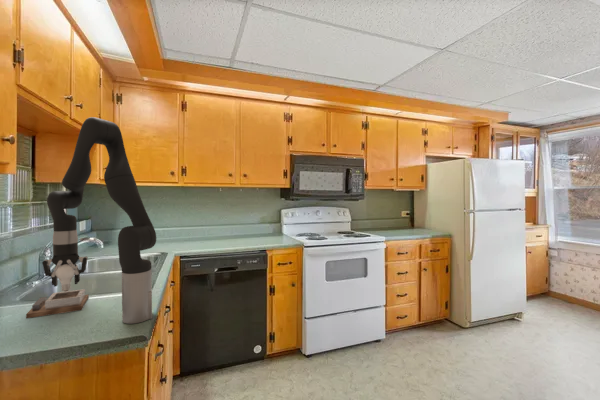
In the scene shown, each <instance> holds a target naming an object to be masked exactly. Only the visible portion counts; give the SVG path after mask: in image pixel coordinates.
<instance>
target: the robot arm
mask: <svg viewBox="0 0 600 400" xmlns="http://www.w3.org/2000/svg"><path fill="white" fill-rule="evenodd" d="M95 144H97V145H102V146H104V147H105V149H106V151H107V154H108V158H109V159H108V164H107V166H106V168H105V171H104V176H103V179H104V183H105V187H106V189H107V192H108V195H109V196H110V198H111V199H112V200H113V201H114V203H115V204H116V205H117V206H118V207H120V208H121V209H122V210H123V211H124V212H125V213H126V215H127V216H128V217H129V219H130V221H131V224H132V225H128V226H125V227H123V228H121V229H120V230H119V233H118V235H117V249H118V259H119V260H118V261H119V265H120V268H121V309H122V310H121V311H122V312H121V317H122V318H121V319H122V320H121V321H122V323H124V324H127V325H129V324H132V325H133V324H139V323H142V322H143V323H144V322H146V321H148V320H152V319H153V291H152V290H153V289H152V288H153V287H152V285H153V284H152V261H151V260H149V259H144V258H142V256H141V251H144V250H145V251H146V250H149V249H152V248H154V246H155V245H156V243H157V233H156V229H155V227H154V225H153V223H152V220H151V218H150V215H148V213H147V210H146V208H145V205H144V204H143V200H142V197H141V195H140V193H139V189H138V185H137V183H136V180H135V177H134V175H133V171H132V170H131V166H130V162H129V160H128V156H127V152H126V148H125V144H124V138H123V134H122V132H121V129H120V127H119V126H118V124H117V123H115V122H113V121H110V120H106V119H103V118H99V117H94V116H90V117H87V118H86V119H85V120H84V121H83V123H82V125H81V127H80V130H79V133H78V137H77V140H76V144H75V148H74V153H73V155H72V158H71V159H72V160H71V161H70V164H69V166H68V168H67V170H66V172H65V174H64V176H63V178H62V181H61V185H62V186H63V187H64V188H65V189H66V190H53V191H51V192H49V194H48V195H47V198H46V204H47V207H48V210H49V212H50V215H51V218H52V222H53V233H52V234H53V235H52V258H51V259H44V260H43V261H42V268H43V271H44V275H45V277H51V285H52V286H53V287H57V286H58V285H59V282H58V280H59V279H58V278H57V276H56V274H55V272H56V271H57V269H58V268H59V267H60V266H61V265H64V264H68V265H69V266H70V267H72V269H73V270H74V271H75V272H74V273H75V275H74V276H73V278H74V285H78V283H80V280H81V276H80V275H81V274H82V273H84V272H85V271H86V269H87V265H88V264H87V263H88V260H89V259H88V256H80V255H79V249H78V247H79V246H78V245H79V244H78V243H79V238H78V236H79V235H78V231H77V229H78V228H77V227H78V226H77V225H78V224H77V217H76V215H74V214H67V213H66V211H65V210H71V209H77V208H78V207H80V205H81V204H82V203H83V197H84V190H85V186H86V184H87V182H88V181H89V178H90V176H91V175H92V174H91V173H92V163H91V159H90V155H91V154H90V152H91V150H92V148H93V146H95ZM78 261H79V262H80V263H81V268H80V269H79V266H78V264H77V262H78ZM51 263H53V265H55V268H54V270H53V272H52V271H51Z"/></svg>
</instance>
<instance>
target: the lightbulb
mask: <svg viewBox="0 0 600 400" xmlns="http://www.w3.org/2000/svg"><path fill="white" fill-rule="evenodd" d="M74 272H75V271H74V270H73V269H72V267H70V266H69V265H68V264H64V265H61V266H60V267H59V268H58V269H57V271H56V272H55V274H56V276H57V278H58V280H59V282H60V284H61V292H65V291H71V284H72V283H71V282H72V279H73V278H74V275H75V273H74Z"/></svg>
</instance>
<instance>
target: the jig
mask: <svg viewBox="0 0 600 400" xmlns="http://www.w3.org/2000/svg"><path fill="white" fill-rule="evenodd" d="M47 297H48V296H43V297H39V298H38V299H37V300H36V301H35V302H34V303H33V304H32V307H31V309H29V311H27V313H26V314H25V317H26V319H30V318H37V317H38V318H39V317H44V316H51V315H58V314H64V313H70V312H76V311H82V310H83V309H84V307H85V306H86V303H87V302H88V300H89V299H90V297H89V294H86V289H85V288H82V289H76V290H68V291H57V292H53V293H52V294H51V295H50V296H49V297H48V298H47Z"/></svg>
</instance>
